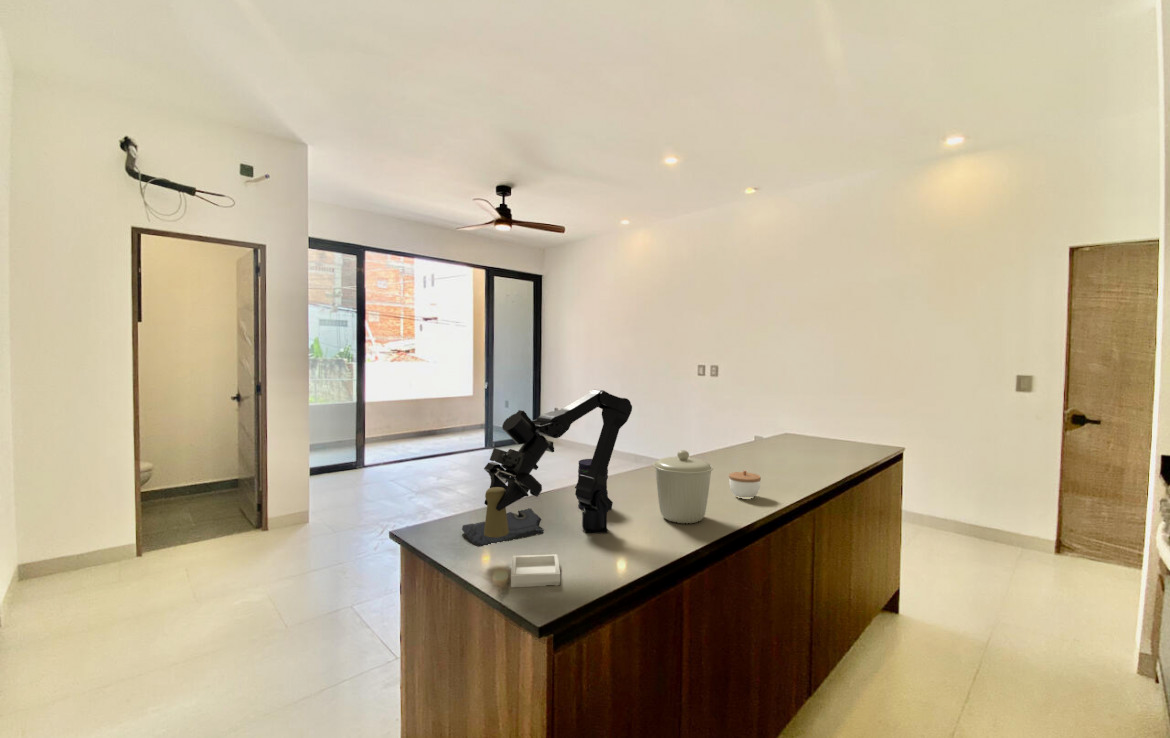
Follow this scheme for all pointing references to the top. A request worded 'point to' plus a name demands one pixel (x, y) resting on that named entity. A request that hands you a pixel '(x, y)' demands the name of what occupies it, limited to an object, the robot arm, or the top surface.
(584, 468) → the storage jar
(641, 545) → the top surface
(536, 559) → the tray
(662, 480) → the canister
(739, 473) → the lidded jar
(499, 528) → the olive brown pawn
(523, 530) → the dark slate chunk
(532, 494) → the robot arm
